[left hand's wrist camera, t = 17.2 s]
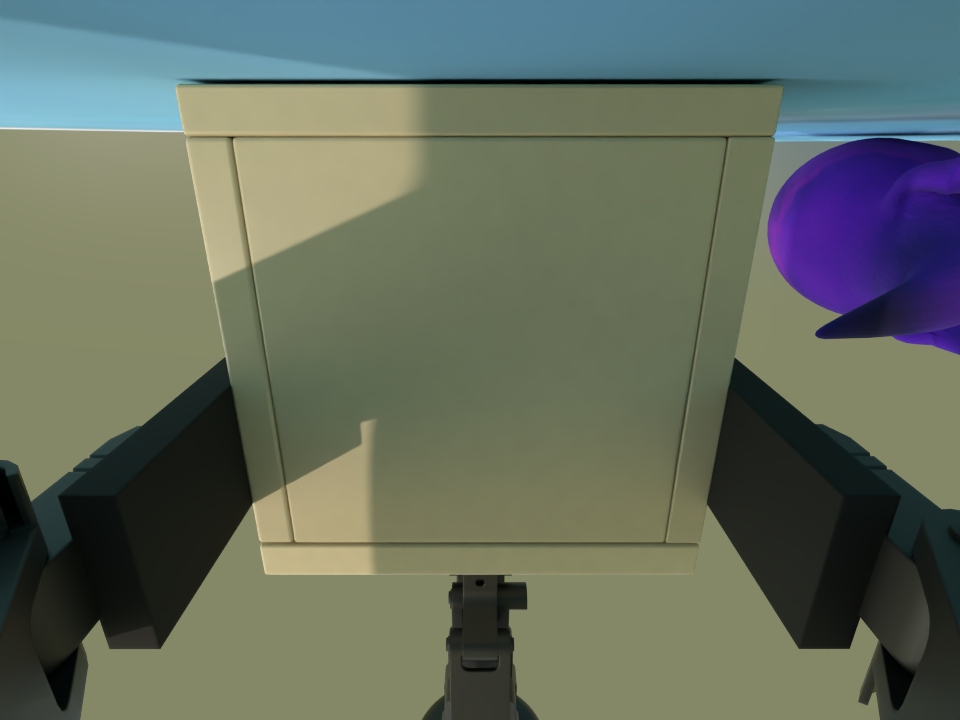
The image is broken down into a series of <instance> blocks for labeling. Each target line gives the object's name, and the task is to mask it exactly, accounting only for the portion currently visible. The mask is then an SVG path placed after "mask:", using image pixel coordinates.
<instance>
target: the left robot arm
mask: <svg viewBox="0 0 960 720" xmlns="http://www.w3.org/2000/svg"><path fill="white" fill-rule="evenodd" d="M252 504H253V502H252V497H251V492H250V486H249V481H248V475H247V470H246V465H245V459H244V454H243V448H242V443H241V437H240V432H239V427H238V421H237V416H236V410H235V405H234V400H233V394H232V389H231V383H230V378H229V373H228V367H227V362H226V357H225V358H224V359H222V360H221V361H220V362H219V363H217V364H216V365H215V366H214V367H213V368H211V369H210V370H209V371H208V372H207V373H205V374H204V375H203V376H202V377H201V378H199V379H198V380H197V381H196V382H195V383H193V384H192V385H191V386H190V387H189V388H187V389H186V390H185V391H184V392H182V393H181V394H180V395H179V396H178V397H176V398H175V399H174V400H173V401H172V402H170V403H169V404H168V405H167V406H166V407H164V408H163V409H162V410H161V411H160V412H158V413H157V414H156V415H155V416H154V417H152V418H151V419H150V420H149V421H147V422H146V423H145V424H144V425H143V426H137V427H135V428H132V429H130V430H128V431H126V432H124V433H122V434H120V435H118V436H116V437H114V438H112V439H110V440H108V441H107V442H106V443H105V444H103V445H102V446H101V447H100V448H98V449H97V450H96V451H95V452H93V453H92V454H91V455H90V458H86V459H85V460H83V461H82V462H81V463H79V464H78V465H77V466H76V467H74V468H73V472H68V473H67V474H66V475H64V476H63V477H62V478H61V479H59V480H58V481H57V482H56V483H54V484H53V485H52V486H50V487H49V488H48V489H47V490H45V491H44V492H43V493H42V494H40V495H39V496H38V497H37V498H35V499H34V500H33V501H32V502H31V501H30V498H29V495H28V493H27V490H26V487H25V484H24V482H23V479H22V476H21V473H20V471H19V468H18V465H16V464H14V463H12V462H10V461H7V460H0V720H80V717H81V710H82V703H83V697H84V690H85V683H86V676H87V670H88V661H87V656H86V652H85V649H84V647H83V644H82V640H83V639H84V638H85V637H86V636H87V634H88V633H89V632H90V631H91V629H92V628H93V627H94V626H95V624H96V623H97V622H98V621H99V619H100V622H101V625H102V628H103V631H104V634H105V637H106V640H107V643H108V646H109V648H110V649H161V647H162V645H163V644H164V642H165V641H166V639H167V638H168V636H169V634H170V633H171V631H172V630H173V628H174V626H175V625H176V623H177V622H178V620H179V619H180V617H181V615H182V614H183V612H184V611H185V609H186V608H187V606H188V604H189V603H190V601H191V600H192V598H193V596H194V595H195V593H196V592H197V590H198V589H199V587H200V586H201V584H202V582H203V581H204V579H205V578H206V576H207V575H208V573H209V571H210V570H211V568H212V567H213V565H214V563H215V562H216V560H217V559H218V557H219V556H220V554H221V552H222V551H223V549H224V548H225V546H226V545H227V543H228V541H229V540H230V538H231V537H232V535H233V533H234V532H235V530H236V529H237V527H238V526H239V524H240V523H241V521H242V519H243V518H244V516H245V515H246V513H247V512H248V510H249V508H250V507H251V505H252ZM707 505H708V506H709V508H710V509H711V511H712V513H713V514H714V516H715V517H716V519H717V520H718V522H719V524H720V525H721V527H722V528H723V530H724V531H725V533H726V534H727V536H728V538H729V539H730V541H731V542H732V544H733V546H734V547H735V549H736V550H737V552H738V553H739V555H740V557H741V558H742V560H743V561H744V563H745V564H746V566H747V568H748V569H749V571H750V572H751V574H752V576H753V577H754V579H755V580H756V582H757V583H758V585H759V586H760V588H761V590H762V591H763V593H764V594H765V596H766V598H767V599H768V601H769V602H770V604H771V605H772V607H773V609H774V610H775V612H776V613H777V615H778V617H779V618H780V620H781V621H782V623H783V624H784V626H785V628H786V629H787V631H788V632H789V634H790V635H791V637H792V639H793V640H794V642H795V643H796V645H797V646H798V648H799V649H850V646H851V643H852V640H853V637H854V634H855V631H856V628H857V626H858V623H859V620H860V617H861V618H862V620H863V621H864V622H865V623H866V625H867V626H868V627H869V628H870V630H871V631H872V632H873V633H874V635H875V636H876V637H877V638H878V640H879V641H878V644H877V647H876V649H875V652H874V655H873V658H872V660H871V663H870V666H869V668H868V671H867V674H866V677H865V679H864V682H863V685H862V688H861V691H860V696H859V701H858V702H860V703H863V704H865V705H868V702H869V700H870V697H871V694H872V693H874V692H876V695H877V701H878V708H879V715H880V720H960V510H954V509H940V508H939V507H938V506H937V505H935V504H934V503H933V502H931V501H930V500H929V499H928V498H926V497H925V496H924V495H923V494H921V493H920V492H919V491H917V490H916V489H915V488H914V487H912V486H911V485H910V484H909V483H907V482H906V481H905V480H903V479H902V478H901V477H900V476H898V475H897V474H896V473H895V472H893V471H892V470H887V466H886V465H884V464H883V463H882V462H881V461H879V460H878V459H877V458H875V457H874V456H870V453H869V452H868V451H867V450H865V449H864V448H863V447H861V446H860V445H859V444H858V443H856V442H855V441H854V440H853V439H851V438H850V437H848V436H846V435H844V434H842V433H840V432H838V431H835V430H833V429H831V428H829V427H827V426H825V425H823V424H814V423H813V422H812V421H811V420H809V419H808V418H807V417H806V416H805V415H803V414H802V413H801V412H800V411H798V410H797V409H796V408H795V407H794V406H792V405H791V404H790V403H789V402H788V401H786V400H785V399H784V398H783V397H782V396H780V395H779V394H778V393H777V392H776V391H774V390H773V389H772V388H771V387H770V386H768V385H767V384H766V383H765V382H764V381H762V380H761V379H760V378H759V377H757V376H756V375H755V374H754V373H753V372H751V371H750V370H749V369H748V368H747V367H745V366H744V365H743V364H742V363H741V362H739V361H738V360H737V359H736V358H734V363H733V368H732V374H731V379H730V385H729V388H728V393H727V398H726V404H725V409H724V415H723V420H722V425H721V431H720V436H719V442H718V447H717V452H716V458H715V463H714V469H713V474H712V479H711V485H710V490H709V496H708V501H707Z"/></svg>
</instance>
